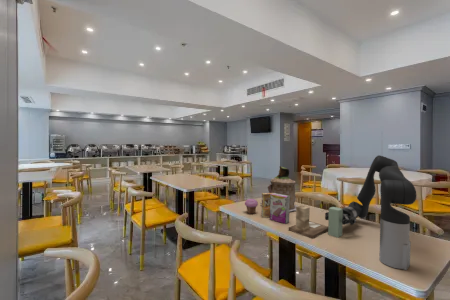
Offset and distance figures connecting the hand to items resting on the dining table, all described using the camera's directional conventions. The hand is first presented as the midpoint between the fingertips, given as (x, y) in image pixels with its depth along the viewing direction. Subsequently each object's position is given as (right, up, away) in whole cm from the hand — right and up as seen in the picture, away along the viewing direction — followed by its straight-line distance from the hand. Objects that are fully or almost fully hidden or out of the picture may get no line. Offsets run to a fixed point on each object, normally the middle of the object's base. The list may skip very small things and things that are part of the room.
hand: (334, 220), depth 113 cm
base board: (-10, -8, +7) cm, 15 cm away
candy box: (-28, -7, +30) cm, 42 cm away
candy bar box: (-23, -8, +21) cm, 32 cm away
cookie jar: (-14, -7, +51) cm, 54 cm away
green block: (+1, -8, +1) cm, 8 cm away
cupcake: (-39, -7, +37) cm, 54 cm away
